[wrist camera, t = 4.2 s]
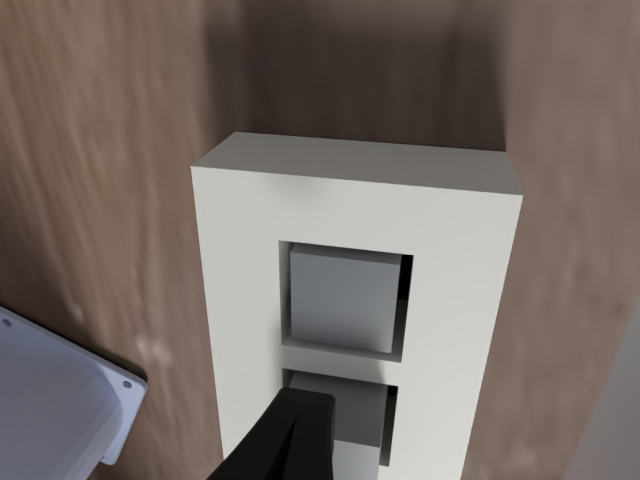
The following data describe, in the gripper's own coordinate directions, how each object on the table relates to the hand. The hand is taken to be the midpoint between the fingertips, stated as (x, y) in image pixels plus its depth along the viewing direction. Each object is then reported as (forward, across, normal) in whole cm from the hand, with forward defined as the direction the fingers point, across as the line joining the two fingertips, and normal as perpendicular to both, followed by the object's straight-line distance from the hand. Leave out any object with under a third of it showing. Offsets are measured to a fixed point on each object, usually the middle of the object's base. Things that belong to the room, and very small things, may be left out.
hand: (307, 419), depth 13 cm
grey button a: (+9, 0, 0) cm, 9 cm away
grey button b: (+7, 0, +5) cm, 9 cm away
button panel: (+9, 0, +5) cm, 11 cm away
